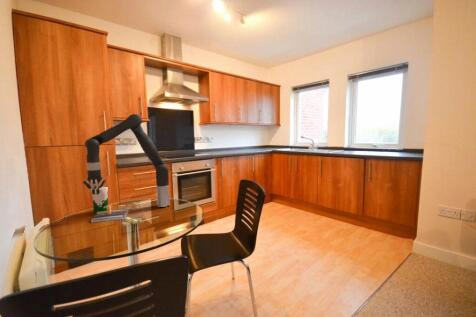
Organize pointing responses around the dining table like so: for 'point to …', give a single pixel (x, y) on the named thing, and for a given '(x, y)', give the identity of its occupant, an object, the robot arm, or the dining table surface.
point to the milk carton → (100, 200)
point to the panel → (110, 218)
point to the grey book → (109, 215)
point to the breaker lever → (108, 210)
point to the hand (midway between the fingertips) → (95, 194)
